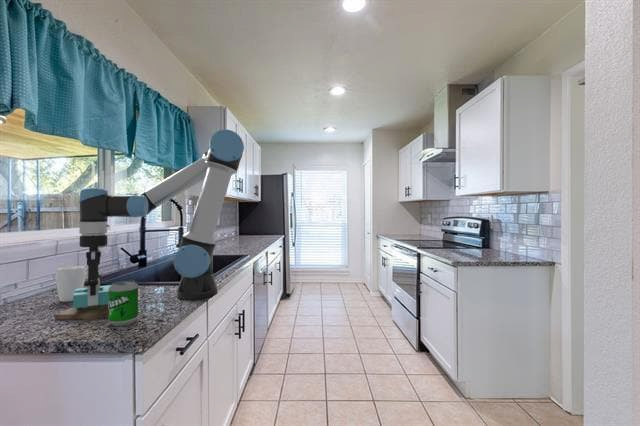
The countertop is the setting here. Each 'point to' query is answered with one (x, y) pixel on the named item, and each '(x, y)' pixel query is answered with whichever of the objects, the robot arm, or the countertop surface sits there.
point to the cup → (69, 281)
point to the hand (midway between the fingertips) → (93, 301)
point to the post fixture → (85, 311)
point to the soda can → (123, 303)
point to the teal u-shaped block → (82, 297)
